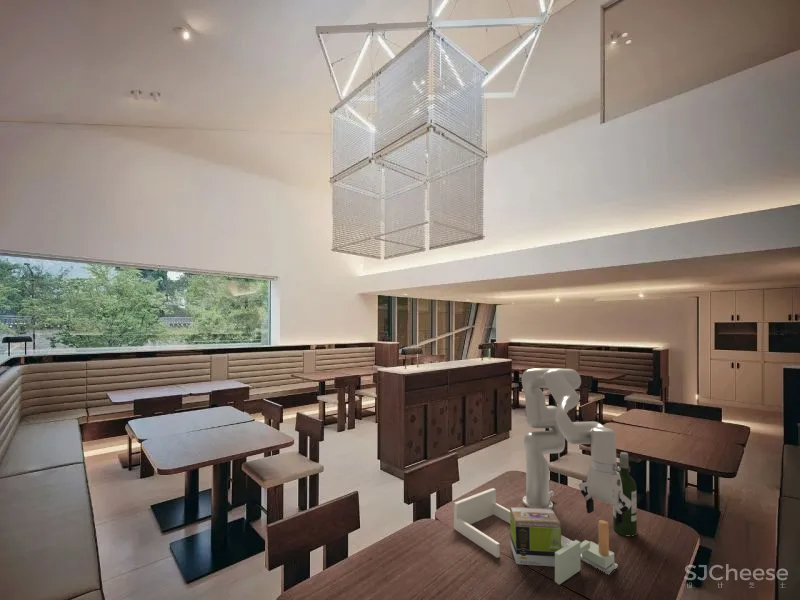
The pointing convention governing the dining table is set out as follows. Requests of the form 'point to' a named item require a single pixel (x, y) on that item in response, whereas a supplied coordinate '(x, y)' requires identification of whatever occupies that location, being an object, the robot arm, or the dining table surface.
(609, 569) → the rail
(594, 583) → the dining table surface
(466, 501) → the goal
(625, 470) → the wine bottle
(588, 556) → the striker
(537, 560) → the tea box
